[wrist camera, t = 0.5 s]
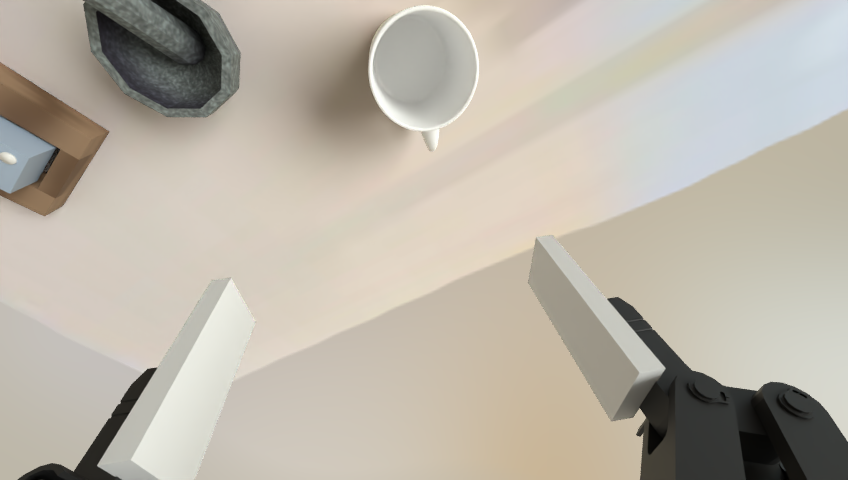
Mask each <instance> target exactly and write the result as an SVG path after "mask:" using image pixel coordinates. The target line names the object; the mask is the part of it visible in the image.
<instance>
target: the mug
mask: <svg viewBox="0 0 848 480" xmlns="http://www.w3.org/2000/svg"><path fill="white" fill-rule="evenodd" d="M478 74H479V61H478V54H477V49H476V46H475V43H474V41H473V38H472V36H471V34H470V32H469V31H468V30H467V28H466V27H465V25H464V24H463V23H462V22H461V21H460V20H459V19H458V18H457V17H455V16H454V15H453V14H451V13H450V12H448V11H446V10H444V9H441V8H439V7H434V6H426V5H421V6H414V7H410V8H407V9H405V10H403V11H400V12H398V13H396V14H394V15H392V16H391V17H389V18H388V19H387V20H386V21H385V22H383V23H382V25H381V26H380V27H379V28H378V30H377V32H376V33H375V35H374V37H373V40H372V43H371V46H370V51H369V61H368V77H369V83H370V88H371V91H372V94H373V96H374V99H375V101H376V103H377V104H378V106H379V108H380V109H381V110H382V112H383V113H384V114H385V115H386V116H387V117H388V118H389V119H390V120H392V121H393V122H394V123H396V124H397V125H399V126H401V127H403V128H406V129H409V130H412V131H419V132H421V133H422V136H423V138H424V141H425V143H426V146H427V148H428V150H429V151H430V152H433V151H435V149H436V148H437V144H438V138H439V129H440V128H442V127H445V126H446V125H448V124H450V123H452V122H453V121H454V120H455V119H457V118H458V117H459V116H460V115H461V114H462V113H463V111H464V110H465V109H466V108H467V106H468V104H469V103H470V101H471V99H472V97H473V95H474V92H475V89H476V86H477V81H478Z"/></svg>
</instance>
